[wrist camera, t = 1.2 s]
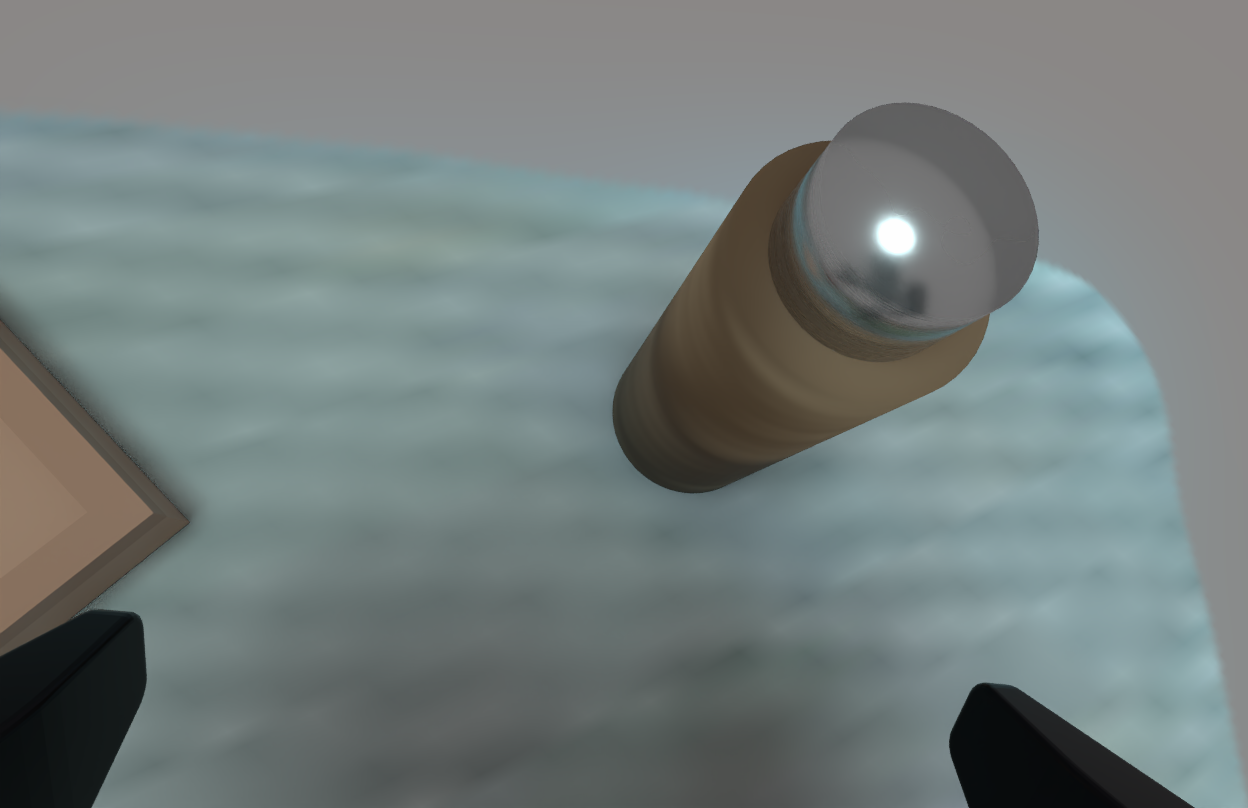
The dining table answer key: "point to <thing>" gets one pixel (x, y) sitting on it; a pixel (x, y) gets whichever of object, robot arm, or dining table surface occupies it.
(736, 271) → the pepper mill
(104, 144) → the dining table surface
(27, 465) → the stand
